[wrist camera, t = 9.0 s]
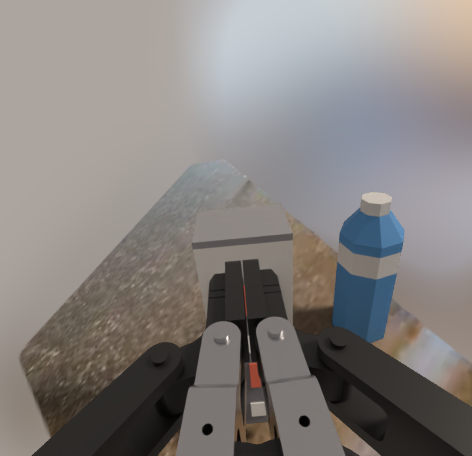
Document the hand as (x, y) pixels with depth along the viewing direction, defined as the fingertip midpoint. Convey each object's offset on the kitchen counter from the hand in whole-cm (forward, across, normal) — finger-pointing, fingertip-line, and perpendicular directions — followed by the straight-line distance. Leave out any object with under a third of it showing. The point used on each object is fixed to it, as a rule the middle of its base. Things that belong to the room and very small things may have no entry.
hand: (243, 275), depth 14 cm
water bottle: (+29, +20, -36) cm, 50 cm away
